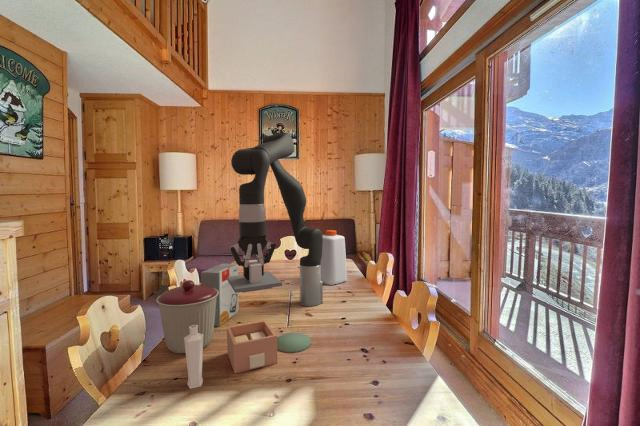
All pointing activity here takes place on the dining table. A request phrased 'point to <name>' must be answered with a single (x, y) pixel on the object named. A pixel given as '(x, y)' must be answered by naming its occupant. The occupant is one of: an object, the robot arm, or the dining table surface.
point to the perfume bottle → (194, 357)
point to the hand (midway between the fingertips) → (253, 278)
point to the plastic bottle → (333, 259)
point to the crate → (251, 346)
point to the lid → (254, 279)
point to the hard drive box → (222, 291)
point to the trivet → (293, 342)
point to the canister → (187, 313)
